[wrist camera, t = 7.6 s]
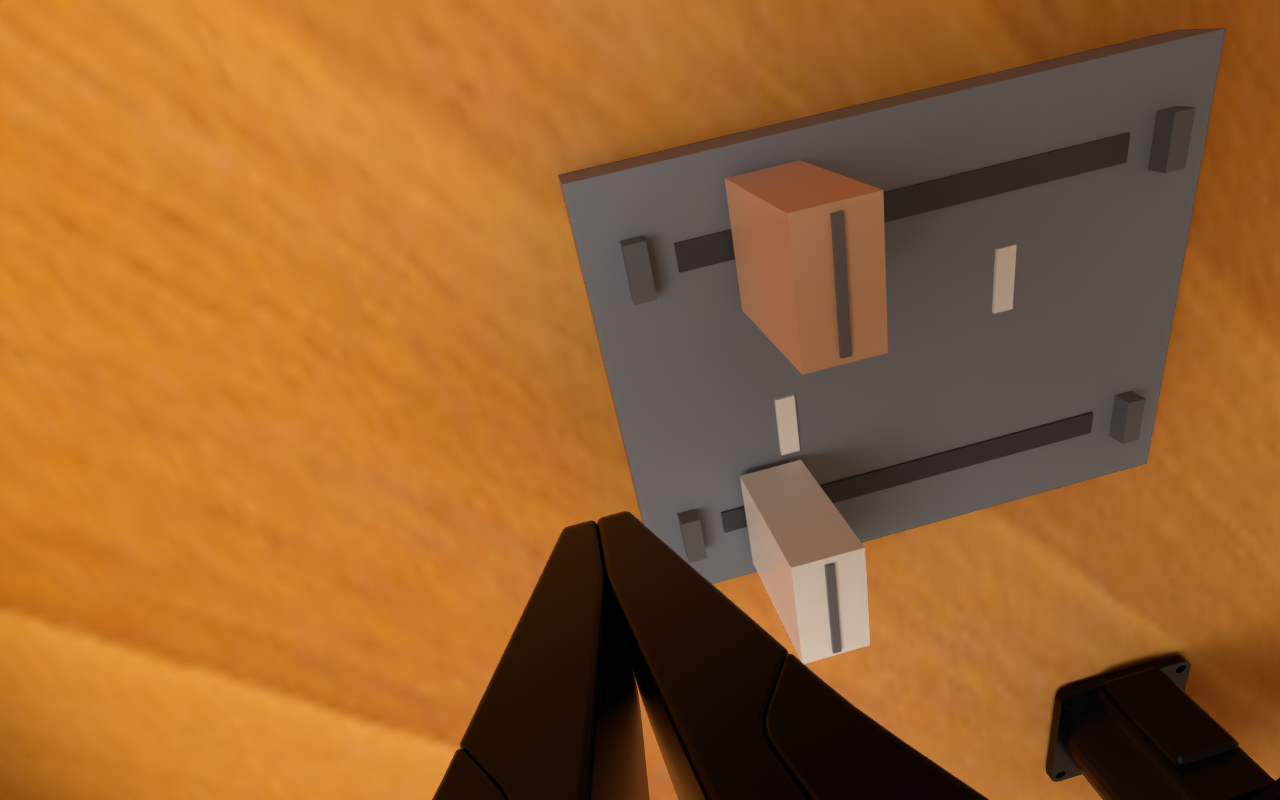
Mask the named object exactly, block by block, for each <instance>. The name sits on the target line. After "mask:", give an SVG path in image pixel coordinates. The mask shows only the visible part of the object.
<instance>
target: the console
mask: <svg viewBox="0 0 1280 800" xmlns="http://www.w3.org/2000/svg"><path fill="white" fill-rule="evenodd" d="M1225 29H1226V28H1221V29H1193V30H1175V31H1171V32H1167V33H1163V34H1158V35H1154V36H1150V37H1145V38H1141V39H1137V40H1133V41H1128V42H1124V43H1120V44H1116V45H1111V46H1107V47H1103V48H1099V49H1094V50H1090V51H1086V52H1082V53H1077V54H1073V55H1069V56H1064V57H1060V58H1056V59H1052V60H1047V61H1043V62H1039V63H1035V64H1030V65H1026V66H1022V67H1018V68H1013V69H1009V70H1005V71H1001V72H996V73H992V74H988V75H983V76H979V77H975V78H971V79H966V80H962V81H958V82H954V83H949V84H945V85H941V86H937V87H932V88H928V89H924V90H920V91H915V92H911V93H907V94H902V95H898V96H894V97H890V98H885V99H881V100H877V101H873V102H868V103H864V104H860V105H856V106H851V107H847V108H843V109H839V110H834V111H830V112H826V113H822V114H817V115H813V116H809V117H804V118H800V119H796V120H792V121H787V122H783V123H779V124H775V125H770V126H766V127H762V128H758V129H753V130H749V131H745V132H741V133H736V134H732V135H728V136H723V137H719V138H715V139H711V140H706V141H702V142H698V143H694V144H689V145H685V146H681V147H677V148H672V149H668V150H664V151H660V152H655V153H651V154H647V155H642V156H638V157H634V158H630V159H625V160H621V161H617V162H613V163H608V164H604V165H600V166H596V167H591V168H587V169H583V170H579V171H574V172H570V173H566V174H561V175H558V177H559V181H560V185H561V189H562V193H563V197H564V201H565V205H566V210H567V214H568V218H569V222H570V226H571V230H572V234H573V238H574V243H575V247H576V251H577V255H578V259H579V263H580V267H581V271H582V275H583V280H584V284H585V288H586V292H587V296H588V300H589V304H590V308H591V312H592V317H593V321H594V325H595V329H596V333H597V337H598V341H599V345H600V350H601V354H602V358H603V362H604V366H605V370H606V374H607V378H608V382H609V387H610V391H611V395H612V399H613V403H614V407H615V411H616V415H617V419H618V424H619V428H620V432H621V436H622V440H623V444H624V448H625V452H626V457H627V461H628V465H629V469H630V473H631V477H632V481H633V485H634V489H635V494H636V498H637V502H638V506H639V510H640V514H641V518H642V522H643V524H644V525H645V526H646V527H647V528H648V529H650V530H651V531H652V532H653V533H654V534H655V535H656V536H658V537H659V538H660V539H661V540H662V541H663V542H664V543H666V544H667V545H668V546H669V547H670V548H671V549H672V550H674V551H675V552H676V553H677V554H678V555H679V556H680V557H681V558H683V559H684V560H685V561H686V562H687V563H688V564H689V565H691V566H692V567H693V568H694V569H695V570H696V571H697V572H699V573H700V574H701V575H702V576H703V577H704V578H705V579H707V580H708V581H709V582H710V583H711V584H714V583H718V582H721V581H725V580H729V579H732V578H736V577H739V576H743V575H747V574H750V573H754V572H757V570H756V568H755V566H754V564H753V559H752V553H751V546H750V540H749V533H748V527H747V520H746V514H745V507H744V501H743V494H742V488H741V481H740V476H742V475H746V474H749V473H753V472H757V471H760V470H764V469H768V468H772V467H775V466H779V465H783V464H787V463H790V462H794V461H798V460H801V461H802V462H803V463H804V465H805V466H806V468H807V469H808V470H809V472H810V473H811V474H812V476H813V477H814V478H815V480H816V481H817V483H818V484H819V485H820V487H821V488H822V489H823V491H824V492H825V494H826V495H827V496H828V498H829V499H830V500H831V502H832V503H833V504H834V506H835V507H836V509H837V510H838V511H839V513H840V514H841V515H842V517H843V518H844V520H845V521H846V522H847V524H848V525H849V526H850V528H851V529H852V530H853V532H854V533H855V535H856V536H857V537H858V539H859V540H860V541H861V543H862V542H865V541H869V540H873V539H876V538H880V537H883V536H887V535H891V534H894V533H898V532H901V531H905V530H909V529H912V528H916V527H919V526H923V525H927V524H930V523H934V522H937V521H941V520H945V519H948V518H952V517H955V516H959V515H963V514H966V513H970V512H973V511H977V510H981V509H984V508H988V507H991V506H995V505H999V504H1002V503H1006V502H1009V501H1013V500H1017V499H1020V498H1024V497H1027V496H1031V495H1035V494H1038V493H1042V492H1045V491H1049V490H1053V489H1056V488H1060V487H1063V486H1067V485H1071V484H1074V483H1078V482H1081V481H1085V480H1089V479H1092V478H1096V477H1099V476H1103V475H1107V474H1110V473H1114V472H1117V471H1121V470H1125V469H1128V468H1132V467H1135V466H1139V465H1143V464H1146V463H1147V459H1148V454H1149V448H1150V443H1151V437H1152V432H1153V426H1154V421H1155V415H1156V410H1157V404H1158V399H1159V393H1160V388H1161V382H1162V377H1163V371H1164V366H1165V360H1166V355H1167V349H1168V344H1169V338H1170V333H1171V327H1172V322H1173V316H1174V311H1175V305H1176V300H1177V294H1178V288H1179V283H1180V277H1181V272H1182V266H1183V261H1184V255H1185V250H1186V244H1187V239H1188V233H1189V228H1190V222H1191V217H1192V211H1193V206H1194V200H1195V195H1196V189H1197V184H1198V178H1199V173H1200V167H1201V162H1202V156H1203V151H1204V145H1205V140H1206V134H1207V129H1208V123H1209V118H1210V112H1211V106H1212V101H1213V95H1214V90H1215V84H1216V79H1217V73H1218V68H1219V62H1220V57H1221V51H1222V46H1223V40H1224V35H1225ZM799 160H801V161H804V162H806V163H809V164H812V165H815V166H818V167H820V168H823V169H826V170H829V171H832V172H834V173H837V174H840V175H843V176H845V177H848V178H851V179H854V180H857V181H859V182H862V183H865V184H868V185H870V186H873V187H876V188H879V189H882V190H883V196H884V232H885V267H886V303H887V339H888V353H885V354H881V355H877V356H874V357H870V358H866V359H862V360H858V361H854V362H850V363H847V364H843V365H839V366H835V367H831V368H827V369H823V370H820V371H816V372H812V373H808V374H804V375H802V374H801V373H800V372H799V371H798V370H797V369H796V368H795V367H794V366H793V364H792V363H791V362H790V361H789V360H788V359H787V358H786V357H785V356H784V355H783V354H782V353H781V352H780V350H779V349H778V348H777V347H776V346H775V345H774V344H773V343H772V342H771V341H770V340H769V339H768V338H767V336H766V335H765V334H764V333H763V332H762V331H761V330H760V329H759V328H758V327H757V326H756V325H755V324H754V322H753V321H752V320H751V319H750V318H749V317H748V316H747V315H746V314H745V313H744V312H743V311H742V306H741V298H740V291H739V283H738V276H737V268H736V261H735V253H734V246H733V238H732V231H731V223H730V216H729V208H728V201H727V193H726V186H725V178H727V177H732V176H736V175H740V174H744V173H748V172H752V171H757V170H761V169H765V168H769V167H773V166H778V165H782V164H786V163H790V162H794V161H799Z"/></svg>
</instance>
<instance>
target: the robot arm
mask: <svg viewBox="0 0 1280 800" xmlns="http://www.w3.org/2000/svg"><path fill="white" fill-rule="evenodd" d="M597 525H598V526H597ZM1190 667H1191V664H1190V663H1189V661H1187V660H1186V659H1185V658H1184V657H1183V656H1182V655H1175V656H1171V657H1168V658H1165V659H1161V660H1158V661H1155V662H1151V663H1148V664H1145V665H1141V666H1138V667H1135V668H1131V669H1128V670H1124V671H1121V672H1118V673H1114V674H1111V675H1108V676H1104V677H1101V678H1098V679H1094V680H1091V681H1088V682H1084V683H1081V684H1077V685H1074V686H1071V687H1067V688H1065V689H1062V690H1061V691H1060V692H1059V693H1058V694H1057V695H1056V698H1055V705H1054V713H1053V720H1052V728H1051V736H1050V743H1049V751H1048V758H1047V766H1046V773H1047V774H1048V776H1049V777H1050V778H1051V780H1053V781H1055V782H1057V781H1062V780H1065V779H1068V778H1071V777H1075V776H1078V775H1081V774H1083V775H1084V777H1085V778H1086V779H1087V780H1088V782H1089V783H1090V784H1091V785H1092V787H1093V788H1094V789H1095V790H1096V792H1097V793H1098V794H1099V795H1100V797H1101V798H1102V799H1103V800H1280V778H1279V779H1277V780H1276V781H1275V780H1274V779H1273V778H1271V777H1270V776H1269V775H1268V774H1267V773H1266V772H1265V771H1264V770H1263V769H1262V768H1261V767H1260V766H1259V765H1258V764H1257V763H1256V762H1254V761H1253V760H1252V759H1251V758H1250V757H1249V756H1248V755H1247V754H1246V753H1245V752H1244V751H1243V750H1242V749H1241V748H1240V747H1239V746H1238V742H1237V741H1236V740H1235V739H1234V738H1233V737H1232V736H1231V735H1230V734H1229V733H1228V732H1227V731H1226V730H1225V729H1224V728H1222V727H1221V726H1220V725H1219V724H1218V723H1217V722H1216V721H1215V720H1214V719H1213V718H1212V717H1211V716H1210V715H1209V714H1208V713H1206V712H1205V711H1204V710H1203V709H1202V708H1201V707H1200V706H1199V705H1198V704H1197V703H1196V702H1195V701H1194V700H1193V699H1192V698H1190V697H1189V696H1188V695H1187V694H1186V693H1185V692H1184V690H1185V686H1186V682H1187V678H1188V674H1189V671H1190ZM635 678H636V679H635ZM636 681H637V684H636ZM637 685H638V688H639V692H640V695H641V698H642V701H643V704H644V707H645V710H646V713H647V716H648V718H649V721H650V724H651V726H652V729H653V732H654V734H655V737H656V740H657V743H658V745H659V748H660V751H661V753H662V756H663V759H664V762H665V764H666V767H667V770H668V772H669V775H670V778H671V781H672V783H673V786H674V789H675V791H676V794H677V797H678V800H989V799H987V798H986V797H984V796H983V795H981V794H980V793H979V792H977V791H976V790H974V789H973V788H971V787H970V786H968V785H967V784H965V783H964V782H962V781H961V780H959V779H958V778H957V777H955V776H954V775H952V774H951V773H949V772H948V771H946V770H945V769H943V768H942V767H940V766H939V765H937V764H936V763H935V762H933V761H932V760H930V759H929V758H927V757H926V756H924V755H923V754H921V753H920V752H918V751H917V750H915V749H914V748H913V747H911V746H910V745H908V744H907V743H905V742H904V741H902V740H901V739H899V738H898V737H897V736H895V735H894V734H892V733H891V732H890V731H888V730H887V729H885V728H884V727H883V726H881V725H880V724H878V723H877V722H876V721H874V720H873V719H871V718H870V717H869V716H867V715H866V714H864V713H863V712H862V711H860V710H859V709H858V708H856V707H855V706H853V705H852V704H851V703H850V702H848V701H847V700H846V699H845V698H844V697H842V696H841V695H840V694H839V693H837V692H836V691H835V690H834V689H833V688H831V687H830V686H829V685H828V684H826V683H825V682H824V681H823V680H822V679H820V678H819V677H818V676H817V675H815V674H814V673H813V672H812V671H811V670H810V669H809V668H808V667H806V666H805V665H804V664H803V663H802V662H801V661H800V660H798V659H797V658H796V657H795V656H794V655H792V654H788V651H787V650H786V649H785V648H784V647H783V646H782V645H781V644H780V643H779V642H777V641H776V640H775V639H774V638H773V637H772V636H771V635H769V634H768V633H767V632H766V631H765V630H764V629H763V628H761V627H760V626H759V625H758V624H757V623H756V622H755V621H753V620H752V619H751V618H750V617H749V616H748V615H747V614H745V613H744V612H743V611H742V610H741V609H740V608H739V607H737V606H736V605H735V604H734V603H733V602H732V601H731V600H729V599H728V598H727V597H726V596H725V595H724V594H723V593H721V592H720V591H719V590H718V589H717V588H716V587H715V586H713V585H712V584H711V583H710V582H709V581H708V580H707V579H705V578H704V577H703V576H702V575H701V574H700V573H699V572H697V571H696V570H695V569H694V568H693V567H692V566H691V565H689V564H688V563H687V562H686V561H685V560H684V559H683V558H681V557H680V556H679V555H678V554H677V553H676V552H675V551H674V550H672V549H671V548H670V547H669V546H668V545H667V544H666V543H664V542H663V541H662V540H661V539H660V538H659V537H658V536H656V535H655V534H654V533H653V532H652V531H651V530H650V529H648V528H647V527H646V526H645V525H644V524H643V523H642V522H640V521H639V520H638V519H637V518H636V517H635V516H634V515H632V514H631V513H630V512H627V511H624V512H620V513H616V514H613V515H609V516H605V517H602V518H600V519H599V520H598V523H596V522H595V521H587V522H583V523H579V524H575V525H572V526H568V527H566V528H565V529H563V531H562V532H561V535H560V537H559V539H558V541H557V543H556V545H555V547H554V549H553V551H552V553H551V555H550V557H549V560H548V562H547V564H546V566H545V568H544V570H543V572H542V574H541V576H540V578H539V580H538V582H537V584H536V587H535V589H534V591H533V593H532V595H531V597H530V599H529V601H528V603H527V605H526V607H525V609H524V612H523V614H522V616H521V618H520V620H519V622H518V624H517V626H516V628H515V630H514V632H513V634H512V637H511V639H510V641H509V643H508V645H507V647H506V649H505V651H504V653H503V655H502V657H501V659H500V662H499V664H498V666H497V668H496V670H495V672H494V674H493V676H492V678H491V680H490V682H489V684H488V687H487V689H486V691H485V693H484V695H483V697H482V699H481V701H480V703H479V705H478V707H477V709H476V712H475V714H474V716H473V718H472V720H471V722H470V724H469V726H468V728H467V730H466V732H465V734H464V737H463V739H462V741H461V743H460V747H461V749H458V750H457V751H456V752H455V754H454V757H453V759H452V761H451V763H450V765H449V767H448V769H447V771H446V773H445V775H444V777H443V780H442V782H441V784H440V785H439V787H438V789H437V791H436V793H435V795H434V797H433V799H432V800H649V790H648V780H647V770H646V760H645V750H644V740H643V730H642V720H641V711H640V703H639V695H638V690H637Z"/></svg>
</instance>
